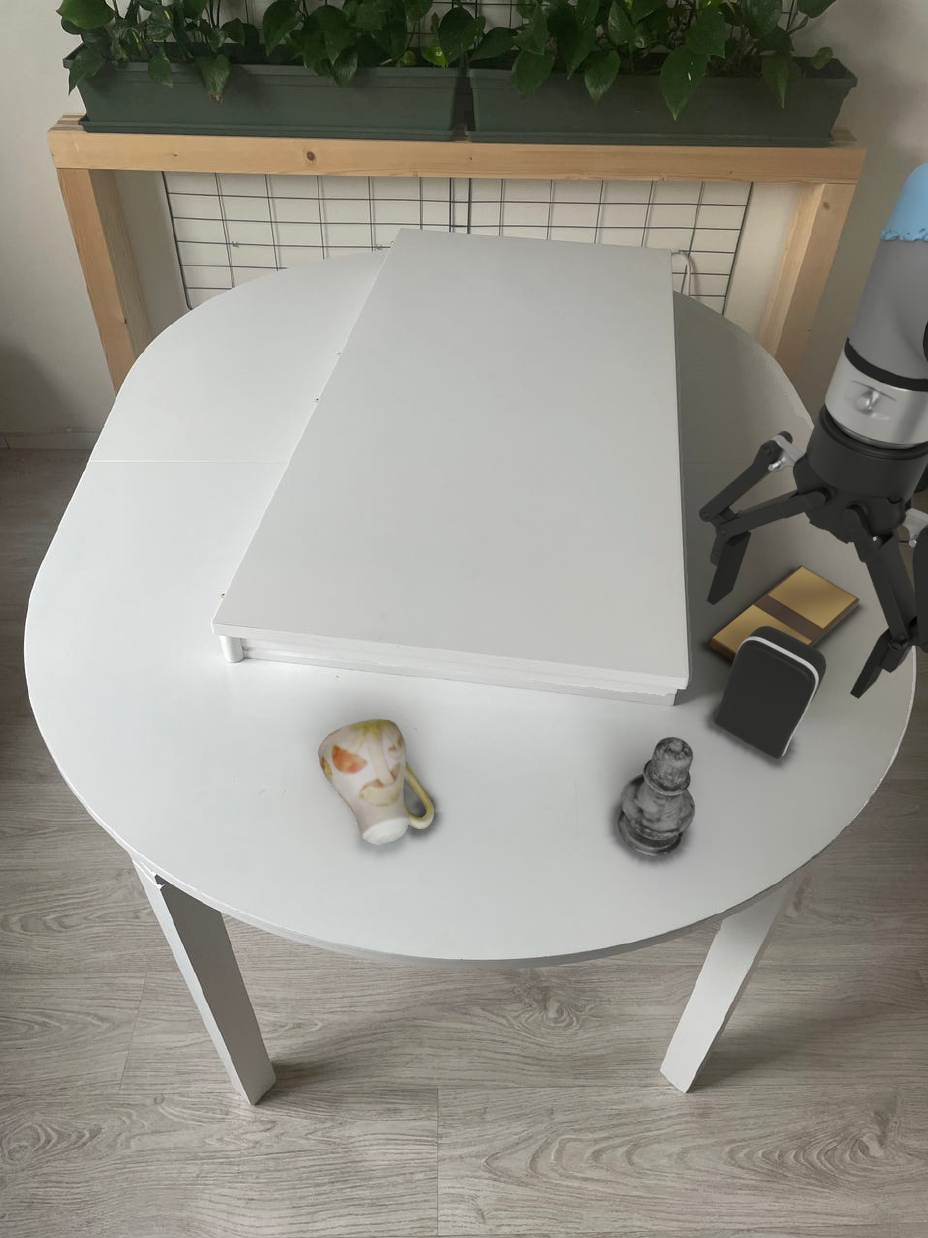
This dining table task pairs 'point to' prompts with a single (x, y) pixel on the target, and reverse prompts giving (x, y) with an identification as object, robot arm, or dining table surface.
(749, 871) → the dining table surface
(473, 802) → the dining table surface
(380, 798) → the mug
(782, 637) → the battery charger
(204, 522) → the dining table surface
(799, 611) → the strip board
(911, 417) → the robot arm
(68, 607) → the dining table surface
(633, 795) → the grey chess piece
